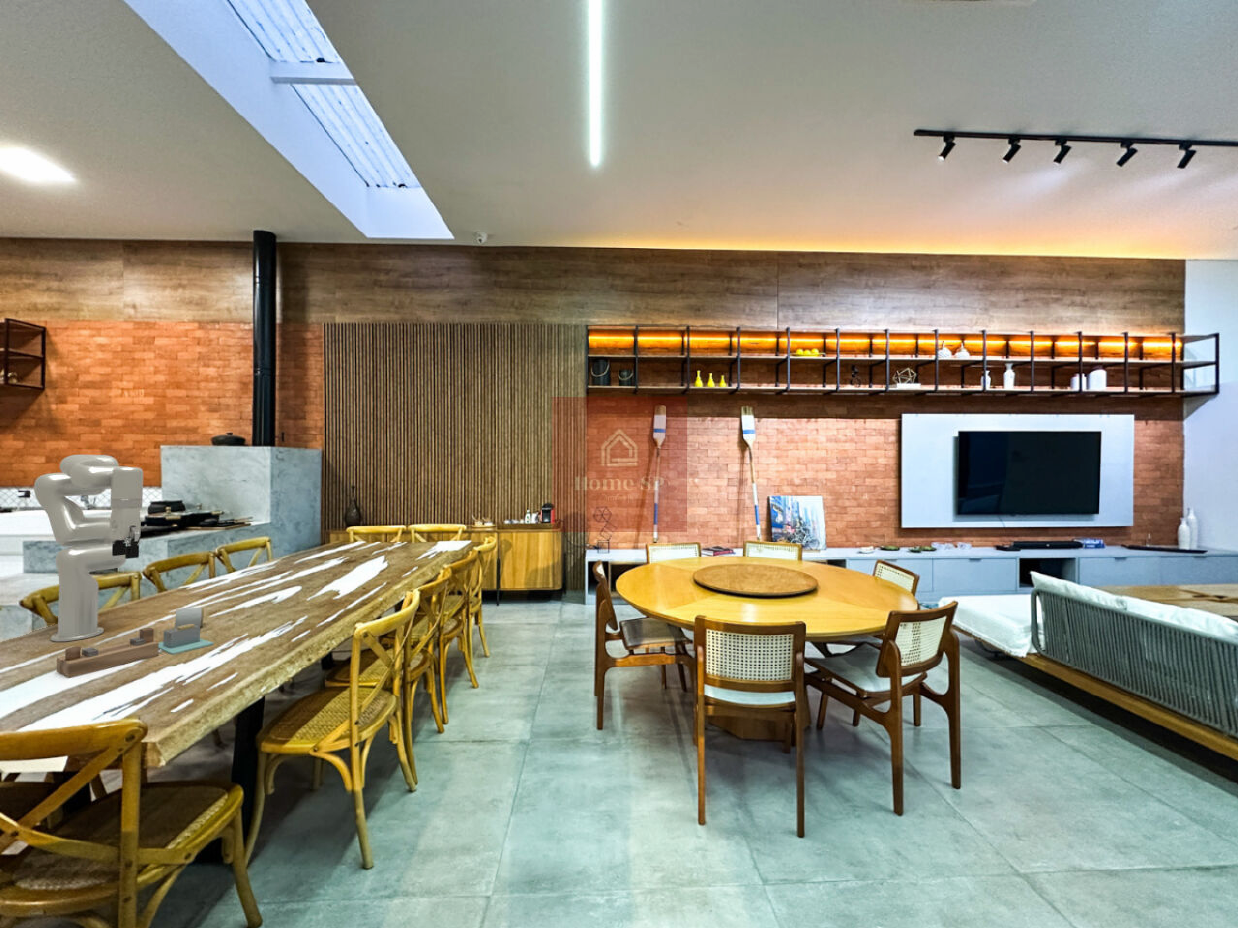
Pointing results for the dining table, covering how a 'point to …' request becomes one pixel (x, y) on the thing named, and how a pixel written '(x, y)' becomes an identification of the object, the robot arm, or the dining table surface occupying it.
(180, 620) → the ceramic mug
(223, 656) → the dining table surface
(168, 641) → the lever cap
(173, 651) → the mat
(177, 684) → the dining table surface
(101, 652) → the plane body
